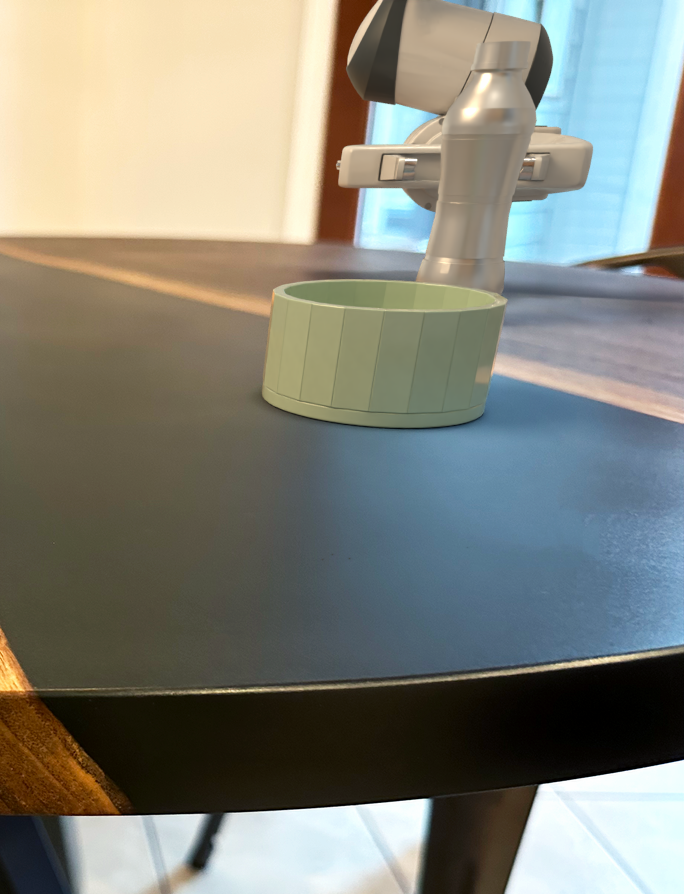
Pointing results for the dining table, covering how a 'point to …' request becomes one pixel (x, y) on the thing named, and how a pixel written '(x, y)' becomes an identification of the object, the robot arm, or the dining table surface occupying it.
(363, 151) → the robot arm
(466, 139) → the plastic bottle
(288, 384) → the round open container
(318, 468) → the dining table surface
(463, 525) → the dining table surface
